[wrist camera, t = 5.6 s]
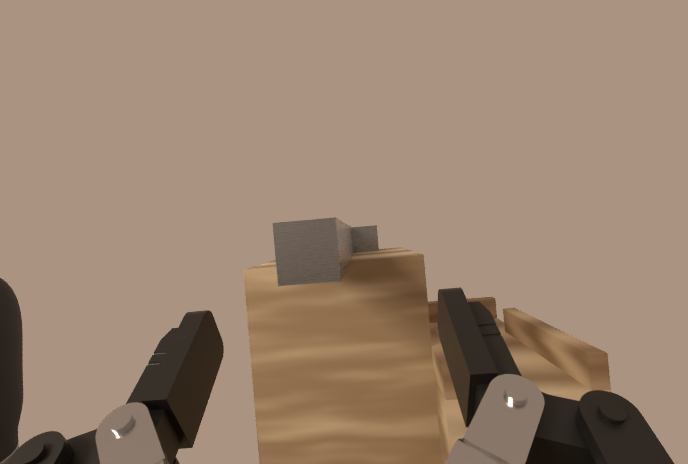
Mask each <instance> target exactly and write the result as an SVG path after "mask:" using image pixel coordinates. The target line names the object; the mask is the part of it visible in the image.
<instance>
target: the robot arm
mask: <svg viewBox="0 0 688 464" xmlns="http://www.w3.org/2000/svg"><path fill="white" fill-rule="evenodd" d="M438 332H439V338H440V342H441V345H442V349H443V352H444V355H445V359H446V362H447V365H448V369H449V372H450V376H451V379H452V382H453V386H454V389H455V393H456V396H457V399H458V403H459V406H460V410H461V413H462V416H463V420H464V423H465V426H466V427H468V430H467V432H466V434H465V436H464V437H463V438H462V439H460V438H459V439H458V440H457V441H456V443H455V444H454V446H453V448H452V450H451V452H450V454H449V456H448V458H447V460H446V462H445V464H674V463H673V461H672V460H671V458H670V457H669V455H668V454H667V452H666V451H665V449H664V447H663V446H662V445H661V443H660V441H659V440H658V438H657V437H656V435H655V434H654V432H653V431H652V429H651V428H650V426H649V425H648V423H647V422H646V420H645V419H644V417H643V416H642V414H641V413H640V412H639V410H638V409H637V408H636V407H635V406H634V405H633V404H632V403H630V402H629V401H628V400H626V399H625V398H623V397H621V396H619V395H617V394H614V393H612V392H608V391H603V390H594V391H589V392H587V393H585V394H584V395H583V396H582V397H581V399H580V401H577V400H572V399H567V398H563V397H558V396H553V395H549V394H546V393H544V392H541V391H540V389H539V388H538V387H537V386H536V385H535V384H534V383H533V382H531V381H530V380H528V379H526V378H524V377H522V375H521V373H520V372H519V370H518V367H517V365H516V363H515V361H514V359H513V357H512V355H511V353H510V351H509V349H508V347H507V345H506V343H505V341H504V339H503V337H502V336H501V333H500V331H499V328H498V326H496V322H495V320H494V318H493V316H492V314H491V312H490V311H489V310H488V309H487V308H486V307H485V306H484V305H482V304H481V303H480V302H479V301H476V302H467V299H466V297H465V295H464V292H463V290H462V289H461V288H450V289H439V291H438ZM222 358H223V342H222V338H221V336H220V333H219V331H218V328H217V325H216V323H215V320H214V317H213V315H212V313H211V312H210V311H196V312H188V313H186V315H185V316H184V318H183V320H182V322H181V324H180V326H179V328H172V329H171V330H170V331H169V332H168V333H167V334H166V335H165V337H163V338H162V339H161V341H160V342H159V344H158V346H157V348H156V350H155V352H154V355H152V357H151V359H150V361H149V364H148V366H146V368H145V370H144V372H143V374H142V376H141V377H140V379H139V381H138V383H137V385H136V387H135V388H134V390H133V392H132V394H131V396H130V398H129V399H128V401H127V403H126V404H125V405H123V406H121V407H119V408H117V409H116V410H114V411H113V412H111V413H110V414H109V415H108V416H107V417H106V418H105V419H104V420H103V421H102V422H101V424H100V425H99V427H98V429H96V430H93V431H91V432H88V433H85V434H82V435H79V436H76V437H74V438H71V439H69V440H66V439H65V438H64V437H63V435H62V434H61V433H59V432H54V431H52V432H51V431H50V432H45V433H42V434H40V435H37V436H35V437H33V438H32V439H30V440H29V441H27V442H25V443H24V444H23V445H22V446H21V447H20V448H19V445H18V424H19V420H20V415H21V410H22V404H23V377H22V376H23V374H22V373H23V372H22V371H23V370H22V319H21V312H20V307H19V304H18V300H17V298H16V296H15V294H14V292H13V290H12V289H11V287H10V286H9V285H8V284H7V283H6V282H5V281H4V280H3V279H1V278H0V464H179V461H178V460H177V458H176V454H177V452H178V449H181V448H192V447H193V444H194V441H195V438H196V435H197V432H198V429H199V426H200V423H201V420H202V417H203V414H204V412H205V408H206V406H207V403H208V400H209V397H210V393H211V391H212V388H213V385H214V382H215V379H216V376H217V373H218V370H219V367H220V364H221V361H222Z"/></svg>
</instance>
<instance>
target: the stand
mask: <svg viewBox="0 0 688 464" xmlns="http://www.w3.org/2000/svg"><path fill="white" fill-rule="evenodd" d="M244 282H245V294H246V305H247V318H248V329H249V342H250V354H251V366H252V378H253V389H254V402H255V413H256V426H257V438H258V450H259V461H260V464H445V462H446V460H447V458H448V456H449V454H450V452H451V450H452V448H453V446H454V444H455V443H456V441H457V440H458V439H459V438H460V439H462V438H463V437H464V436H465V434H466V432H467V430H468V427H466V426H465V423H464V420H463V416H462V413H461V410H460V406H459V403H458V399H457V396H456V393H455V389H454V386H453V382H452V379H451V376H450V372H449V369H448V365H447V362H446V359H445V355H444V352H443V349H442V345H441V342H440V338H439V332H438V301H434V302H428V301H427V291H426V290H427V289H426V278H425V267H424V256H423V255H422V254H419V253H417V252H414V251H410V250H408V249H405V248H390V249H379V251H371V252H359V253H354V255H353V257H352V259H351V261H350V263H349V265H348V267H347V270H346V272H345V274H344V276H343V278H342V280H341V281H337V282H325V283H312V284H300V285H287V286H278V280H277V268H276V260H275V261H271V262H268V263H265V264H262V265H258V266H254V267H251V268H248V269H244ZM476 301H479V302H480V303H481V304H482V305H484V306H485V307H486V308H487V309H488V310H489V311H490V312H491V314H492V316H493V318H494V320H495V322H496V326H498V328H499V331H500V333H501V336H502V337H503V339H504V341H505V343H506V345H507V347H508V349H509V351H510V353H511V355H512V357H513V359H514V361H515V363H516V365H517V367H518V370H519V372H520V373H521V375H522V377H524V378H526V379H528V380H530V381H531V382H533V383H534V384H535V385H536V386H537V387H538V388H539V389H540V391H541V392H544V393H546V394H549V395H553V396H558V397H563V398H567V399H572V400H577V401H580V399H581V397H582V396H583V395H584V394H585V393H587V392H589V391H594V390H603V391H608V392H611V388H610V376H609V366H608V355H607V353H606V352H604V351H602V350H600V349H597V348H595V347H593V346H591V345H589V344H587V343H585V342H583V341H581V340H579V339H577V338H575V337H573V336H571V335H569V334H566V333H565V332H563V331H561V330H559V329H557V328H554V327H552V326H550V325H548V324H546V323H544V322H542V321H540V320H538V319H536V318H534V317H532V316H530V315H528V314H526V313H524V312H522V311H519V310H518V309H515V308H508V309H503V314H504V322H502V321H501V320H499V319H497V314H496V302H495V298H493V297H485V298H472V299H467V302H476Z"/></svg>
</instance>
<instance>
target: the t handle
mask: <svg viewBox="0 0 688 464" xmlns="http://www.w3.org/2000/svg"><path fill="white" fill-rule="evenodd" d="M273 232H274V244H275V256H276V268H277V280H278V286H287V285H300V284H312V283H325V282H337V281H341V280H342V278H343V276H344V274H345V272H346V270H347V267H348V265H349V263H350V261H351V259H352V257H353V255H354V253H359V252H371V251H379V248H378V236H377V226H365V227H353V228H352V227H350V226H349V225H347V224H345V223H344V222H342V221H340V220H339V219H337V218H326V219H315V220H304V221H292V222H280V223H273Z"/></svg>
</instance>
